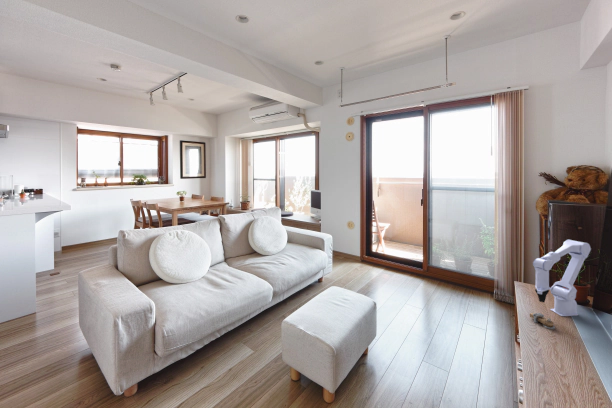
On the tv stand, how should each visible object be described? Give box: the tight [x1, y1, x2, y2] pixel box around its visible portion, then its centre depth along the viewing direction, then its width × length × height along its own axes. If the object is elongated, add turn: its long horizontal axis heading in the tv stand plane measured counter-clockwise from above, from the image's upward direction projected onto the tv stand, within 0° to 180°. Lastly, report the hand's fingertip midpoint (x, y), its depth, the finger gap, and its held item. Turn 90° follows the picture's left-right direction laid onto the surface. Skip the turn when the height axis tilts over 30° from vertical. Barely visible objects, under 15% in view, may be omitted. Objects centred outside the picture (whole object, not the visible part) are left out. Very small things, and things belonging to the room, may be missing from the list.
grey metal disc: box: [542, 323, 556, 331], centre depth 146 cm, size 5×5×1 cm
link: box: [529, 312, 555, 327], centre depth 149 cm, size 11×4×4 cm, turn 8°
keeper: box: [533, 312, 545, 324], centre depth 151 cm, size 2×4×5 cm, turn 93°
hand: (542, 301), depth 155 cm, fingers closed
